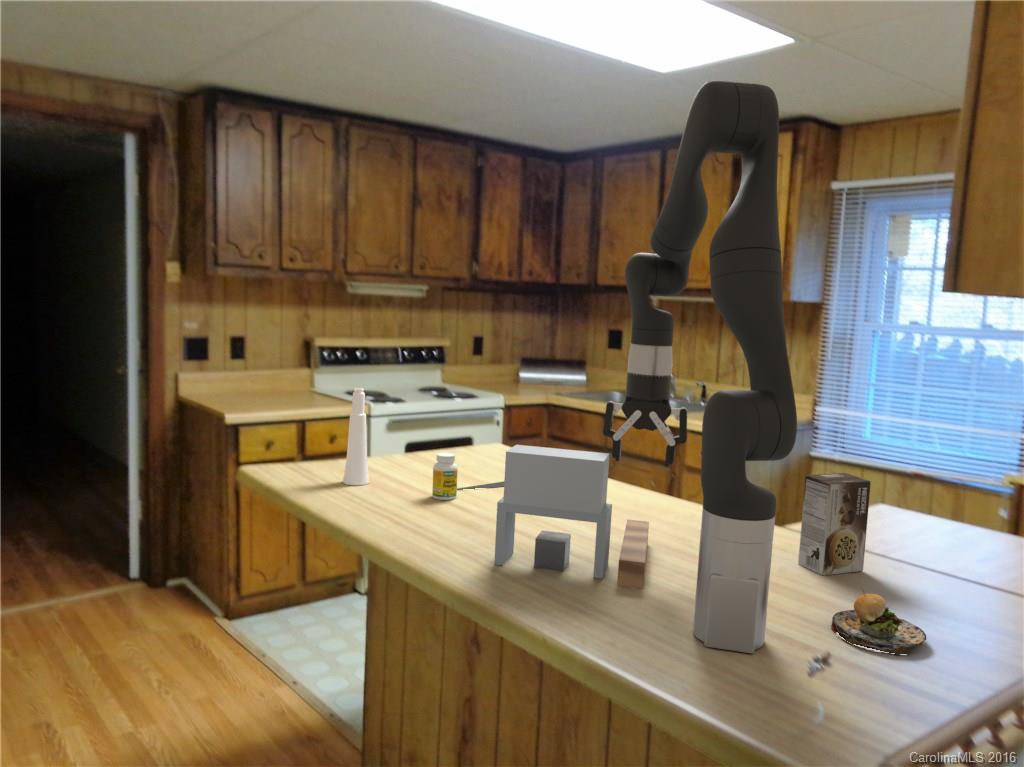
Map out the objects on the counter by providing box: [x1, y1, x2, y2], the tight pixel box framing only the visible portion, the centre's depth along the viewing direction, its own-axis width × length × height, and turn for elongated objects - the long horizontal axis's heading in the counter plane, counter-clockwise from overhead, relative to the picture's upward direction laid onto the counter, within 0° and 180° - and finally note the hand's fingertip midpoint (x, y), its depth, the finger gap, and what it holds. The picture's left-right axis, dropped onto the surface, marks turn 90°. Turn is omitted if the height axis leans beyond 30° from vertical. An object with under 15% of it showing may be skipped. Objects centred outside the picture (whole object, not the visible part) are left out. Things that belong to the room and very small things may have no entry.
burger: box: [830, 584, 927, 655], centre depth 106 cm, size 12×12×8 cm
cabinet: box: [494, 444, 613, 580], centre depth 128 cm, size 7×18×19 cm, turn 76°
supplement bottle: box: [432, 452, 458, 501], centre depth 169 cm, size 5×5×10 cm
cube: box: [533, 530, 572, 572], centre depth 129 cm, size 5×5×5 cm
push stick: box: [616, 519, 650, 590], centre depth 132 cm, size 24×4×4 cm, turn 168°
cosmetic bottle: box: [342, 387, 370, 486], centre depth 178 cm, size 6×6×22 cm
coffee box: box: [797, 472, 872, 576], centre depth 134 cm, size 9×6×16 cm
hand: (642, 463), depth 135 cm, fingers open, 8 cm apart
